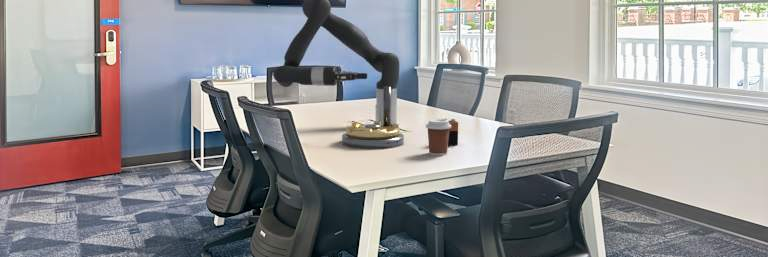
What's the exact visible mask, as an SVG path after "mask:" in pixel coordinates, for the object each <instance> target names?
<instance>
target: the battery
mask: <svg viewBox="0 0 768 257" xmlns="http://www.w3.org/2000/svg"><path fill="white" fill-rule="evenodd" d="M443 119H444V120H448V118H443ZM448 121H449V124H450V125H451V128H450V129H449V139H448V146H458V143H459V121H457V120H456V119H455V118H451V119H450V120H448Z"/></svg>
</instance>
